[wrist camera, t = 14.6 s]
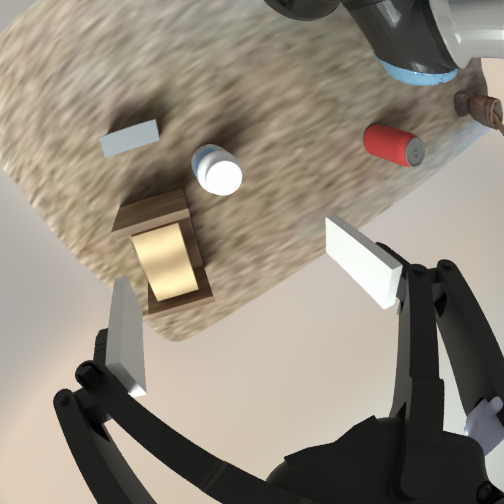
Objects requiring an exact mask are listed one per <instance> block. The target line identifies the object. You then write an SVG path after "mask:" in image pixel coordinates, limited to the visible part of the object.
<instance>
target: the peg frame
mask: <svg viewBox="0 0 504 504" xmlns="http://www.w3.org/2000/svg"><path fill="white" fill-rule="evenodd" d="M177 220H178V222H179V226H180V229H181V233H182V236H183V239H184V242H185V246H186V249H187V252H188V255H189V259H190V262H191V265H192V268H193V271H194V274H195V277H196V281H197V285H198V290H195V291H191V292H188V293H185V294H181V295H178V296H174V297H171V298H168V299H164V300H161V301H158V300H157V298H156V296H155V294H154V292H153V289H152V287H151V285H150V283H149V280H148V278H147V276H146V273H145V271H144V269H143V266H142V264H141V261H140V259H139V256H138V254H137V251H136V249H135V246H134V244H133V241H132V239H131V235H132V234H135V233H138V232H141V231H144V230H148V229H151V228H154V227H157V226H161V225H164V224H167V223H171V222H174V221H177ZM111 233H112V236H113V238H114V240H117V239H120V238H123V237H126V236H129V238H130V241H131V243H132V246H133V248H134V251H135V253H136V256H137V258H138V261H139V263H140V266H141V268H142V270H143V273H144V275H145V277H146V280H147V282H148V309H149V317H150V318H151V320H154V319H157V318H161V317H164V316H168V315H171V314H175V313H178V312H182V311H185V310H188V309H192V308H195V307H198V306H202V305H205V304H208V303H212V302H215V300H214V297H213V294H212V291H211V287H210V284H209V281H208V278H207V275H206V272H205V269H204V266H203V262H202V259H201V255H200V252H199V248H198V245H197V241H196V238H195V234H194V230H193V227H192V223H191V219H190V213H189V209H188V206H187V202H186V199H185V196H184V192H183V189H182V188H179V189H176V190H172V191H169V192H166V193H162V194H159V195H156V196H152V197H149V198H146V199H143V200H140V201H137V202H134V203H130V204H127V205H124V206H121V207H119V210H118V213H117V216H116V219H115V222H114V225H113V228H112V232H111Z"/></svg>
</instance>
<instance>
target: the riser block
mask: <svg viewBox="0 0 504 504" xmlns="http://www.w3.org/2000/svg"><path fill="white" fill-rule="evenodd" d="M99 139H100V142H101V146H102V150H103V153H104V157H105V158H106V157H109V156H112V155H115V154H118V153H121V152H124V151H127V150H130V149H133V148H136V147H139V146H142V145H145V144H149V143H152V142H156V141H159V140H160V134H159V130H158V125H157V121H156V118H155V119H151V120H148V121H145V122H141V123H138V124H135V125H132V126H129V127H126V128H123V129H120V130H117V131H114V132H111V133H108V134H106V135H104V136H102V137H100V138H99Z"/></svg>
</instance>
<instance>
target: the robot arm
mask: <svg viewBox="0 0 504 504" xmlns="http://www.w3.org/2000/svg"><path fill="white" fill-rule="evenodd" d="M264 1H265V2H266V3H267V4H268V5H269V6H270V7H271V8H273V9H274V10H275V11H277V12H278V13H280V14H282V15H284V16H286V17H289V18H292V19H295V20H301V21H313V20H317V19H320V18H323V17H325V16H327V15H329V14H331V13H332V12H333V11H334V10H335V9H336V8H337V6H338V5H339V3H340V2H342V3H343V5H344V6H345V7H346V9H347V10H348V12H349V13H350V15H351V16H352V18H353V19H354V20H355V22H356V23H357V25H358V26H359V28H360V29H361V31H362V33H363V34H364V36H365V37H366V39H367V40H368V42H369V44H370V45H371V47H372V49H373V50H374V51H373V52H374V54H375V56H376V58H377V59H378V60H379V61H380V62H381V64H382V65H383V67H384V69H385V70H386V72H387V73H388V74H389V75H390V76H392V77H393V78H394V79H395V80H397V81H400V82H403V83H406V84H411V85H436V84H438V83H439V82H444V83H445V82H447V81H450V80H451V79H453V78H454V77H455V76H456V74H457V70H458V69H460V68H461V69H462V68H465V67H466V66H467V64H468V62H469V61H470V59H472V58H502V59H504V0H264ZM326 252H327V253H328V254H329V255H330V256H331V257H332V258H333V259H334V260H335V261H336V262H337V263H339V265H341V267H342V268H344V270H346V271H347V272H348V273H349V274H350V275H351V276H352V277H353V278H354V279H355V280H356V281H357V282H358V283H359V284H360V285H361V286H362V287H363V288H364V289H365V290H366V291H367V292H368V293H369V295H371V296H372V297H373V299H375V301H376V302H377V303H378V304H379V305H380V306H381V307H382V308H383V309H386V308H388V307H390V306H392V305H394V303H395V298H396V297H398V298H399V299H400V303H399V307H398V310H397V314H399V335H398V355H397V368H396V379H395V388H394V397H393V405H392V408H391V411H390V414H389V417H386V418H379V419H376V417H375V416H374V415H373V416H371V417H369V418H367V419H366V420H364V421H362V422H360V423H358V424H356V425H355V426H353V427H352V428H351V429H350V430H348V431H347V432H346V433H345V434H344V435H343V436H341V437H340V438H339V439H338V440H336V441H335V442H333V443H329V444H324V445H319V446H314V447H309V448H305V449H303V450H301V451H298V452H295V453H293V454H290V455H288V456H285V457H284V460H285V461H284V462H283V463H281V464H280V465H279V466H277V467H276V468H275V469H274V470H273V471H272V472H271V473H270V475H269V476H268V478H267V479H266V481H264V480H262V479H259V478H257V477H255V476H253V475H251V474H249V473H247V472H245V471H243V470H241V469H240V468H237V467H236V466H234V465H232V464H230V463H228V462H226V461H222V460H221V459H219V458H217V457H215V456H214V455H212V454H210V453H208V452H207V451H205V450H204V449H202V448H201V447H199V446H197V445H196V444H194V443H193V442H191V441H190V440H188V439H187V438H185V437H184V436H182V435H181V434H179V433H178V432H176V431H175V430H174V429H172V428H171V427H169V426H168V425H167V424H165V423H164V422H163V421H161V420H160V419H159V418H157V417H156V416H155V415H153V414H152V413H151V412H149V411H148V410H147V409H146V408H144V407H143V406H142V405H141V404H140V403H138V402H137V401H136V400H135V399H133V398H132V397H131V396H130V395H129V394H128V392H129V393H130V394H131V395H132V396H133V397H136V396H140V395H145V394H147V393H146V382H145V368H144V351H143V324H142V323H143V321H142V307H141V305H140V303H139V301H138V299H137V297H136V295H135V293H134V291H133V289H132V287H131V285H130V283H129V281H128V279H127V276H123V277H120V278H116V279H115V282H114V288H113V295H112V303H111V311H110V318H109V327H108V328H106V329H102V330H100V331H99V333H98V335H97V337H96V341H95V349H94V352H95V353H94V358H93V360H88V361H85V362H83V363H81V364H80V365H79V367H78V368H77V370H76V372H75V377H76V380H77V382H78V383H79V384H80V385H81V386H82V387H83V388H81V389H79V390H77V391H76V392H72V391H71V390H69V389H62V390H60V391H59V392H57V393H56V395H55V397H54V400H53V404H54V408H55V411H56V414H57V417H58V420H59V423H60V425H61V428H62V431H63V433H64V436H65V438H66V441H67V443H68V446H69V448H70V450H71V453H72V455H73V457H74V459H75V461H76V463H77V465H78V468H79V470H80V472H81V474H82V476H83V477H84V480H85V481H86V483H87V485H88V487H89V489H90V491H91V492H92V494H93V496H94V498H95V499H96V501H97V503H98V504H157V503H156V502H155V501H154V499H153V498H152V497H151V495H150V494H149V493H148V492H147V490H146V489H145V488H144V486H143V485H142V483H141V482H140V481H139V479H138V478H137V477H136V475H135V474H134V472H133V471H132V469H131V468H130V466H129V465H128V463H127V462H126V460H125V459H124V457H123V456H122V454H121V452H120V451H119V449H118V448H117V446H116V444H115V443H114V441H113V439H112V437H111V436H110V434H109V432H108V430H107V429H106V427H105V425H104V423H105V422H106V421H108V420H110V419H112V418H113V419H114V420H115V421H116V422H117V423H118V424H119V425H120V426H121V427H122V428H123V429H124V430H125V431H126V432H127V433H128V434H130V435H131V436H132V437H133V438H134V439H135V440H136V441H137V442H139V443H140V444H141V445H142V446H143V447H144V448H145V449H147V450H148V451H149V452H150V453H151V454H153V455H154V456H155V457H156V458H158V459H159V460H160V461H162V462H163V463H164V464H165V465H167V466H168V467H169V468H171V469H172V470H173V471H175V472H176V473H178V474H179V475H180V476H182V477H183V478H184V479H186V480H187V481H189V482H190V483H192V484H193V485H195V486H196V487H198V488H199V489H200V490H201V491H203V492H204V493H206V494H207V495H209V496H210V497H212V498H214V499H215V500H217V501H219V502H220V503H222V504H504V492H502V491H501V490H499V489H498V488H497V487H495V486H494V485H493V484H492V483H491V482H490V481H489V479H488V476H487V472H486V467H485V456H486V455H487V454H488V453H489V452H491V451H492V450H493V449H494V448H495V447H496V446H497V445H498V444H499V443H500V442H501V441H502V440H504V357H503V355H502V352H501V350H500V347H499V345H498V343H497V341H496V338H495V336H494V334H493V332H492V330H491V327H490V325H489V323H488V321H487V319H486V317H485V315H484V313H483V311H482V310H481V307H480V306H479V304H478V302H477V300H476V298H475V296H474V295H473V293H472V291H471V289H470V287H469V286H468V284H467V282H466V281H465V279H464V277H463V276H462V274H461V272H460V271H459V269H458V267H457V266H456V265H455V264H454V263H453V262H452V261H450V260H445V259H443V260H440V261H438V264H437V267H436V268H431V269H427V268H426V267H425V266H423V265H420V264H410V263H409V262H407V261H406V260H405V259H403V258H402V257H401V256H400V255H398V254H396V252H394V251H393V250H391V248H389V247H388V246H387V245H385V244H382V243H379V242H376V243H374V242H373V241H371V240H370V239H369V238H367V237H366V236H365V235H363V234H362V233H361V232H359V231H358V230H357V229H355V228H354V227H353V226H351V225H350V224H348V223H347V222H346V221H344V220H343V219H342V218H340V217H339V216H337V215H336V214H334V215H331V216H327V217H326ZM436 323H437V325H438V328H439V331H440V333H441V336H442V339H443V342H444V345H445V348H446V351H447V354H448V357H449V360H450V363H451V366H452V369H453V373H454V376H455V380H456V384H457V387H458V391H459V395H460V399H461V402H462V406H463V409H464V411H465V414H466V416H467V420H466V426H465V428H464V431H465V433H466V434H467V435H468V436H464V435H459V434H455V433H451V432H447V431H443V421H444V420H443V419H444V381H443V379H440V378H439V356H438V340H437V327H436Z"/></svg>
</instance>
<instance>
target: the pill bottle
mask: <svg viewBox="0 0 504 504" xmlns="http://www.w3.org/2000/svg"><path fill="white" fill-rule="evenodd" d="M191 166H192V170H193V172H194V174H195V176H196V178H197V179H198V181H199V183H200V184H201V186H202V187H203V188H204V189H205V190H207V191H209V192H211V193H215V194H218V195H228V194H231V193H233V192H234V191H235V190H237V188H238V187H239V186H240V184H241V181H242V172H241V169H240V164H239V162H238V160H237V159H236V158H235V157H234V156H233V155H232V154H231V153H229V152H227V151H226V150H224V149H223V148H221V147H220V146H217V145H214V144H207V145H203V146H201V147H200V148H198V149H197V150H196V151H195V152H194V154H193V156H192V159H191Z"/></svg>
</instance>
